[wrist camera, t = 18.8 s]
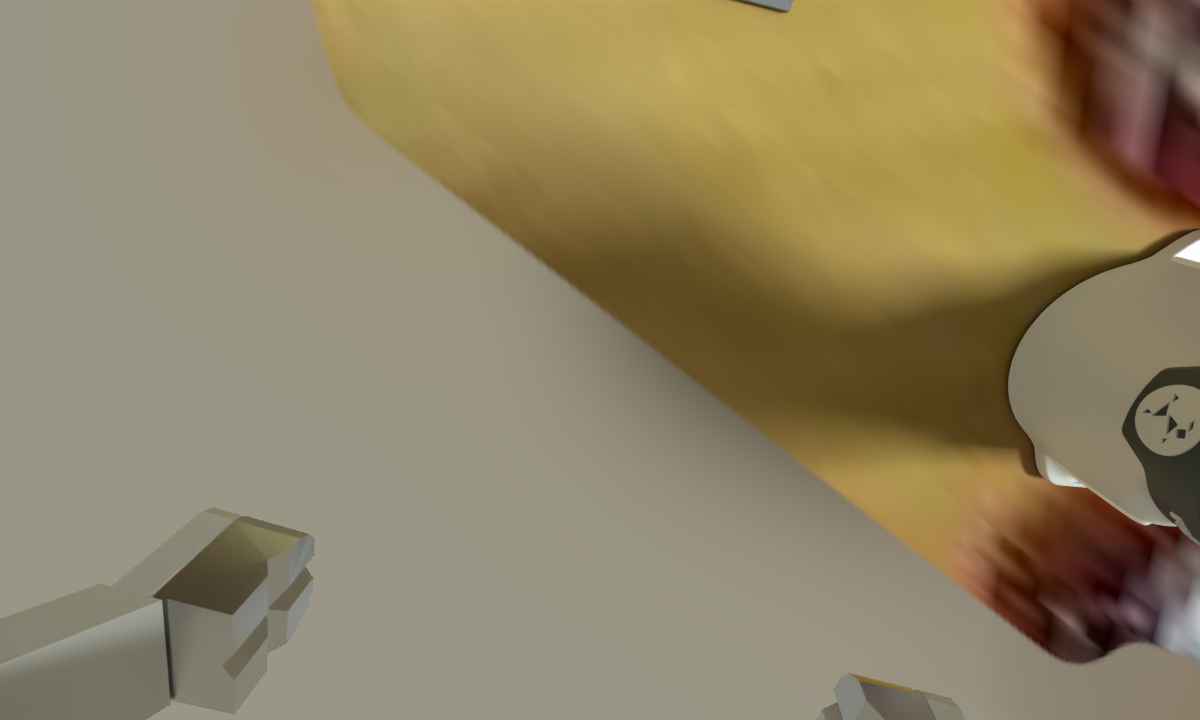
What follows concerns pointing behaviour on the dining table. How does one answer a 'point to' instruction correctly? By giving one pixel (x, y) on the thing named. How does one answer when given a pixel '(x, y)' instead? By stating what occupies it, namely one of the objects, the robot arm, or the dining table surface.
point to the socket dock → (773, 4)
